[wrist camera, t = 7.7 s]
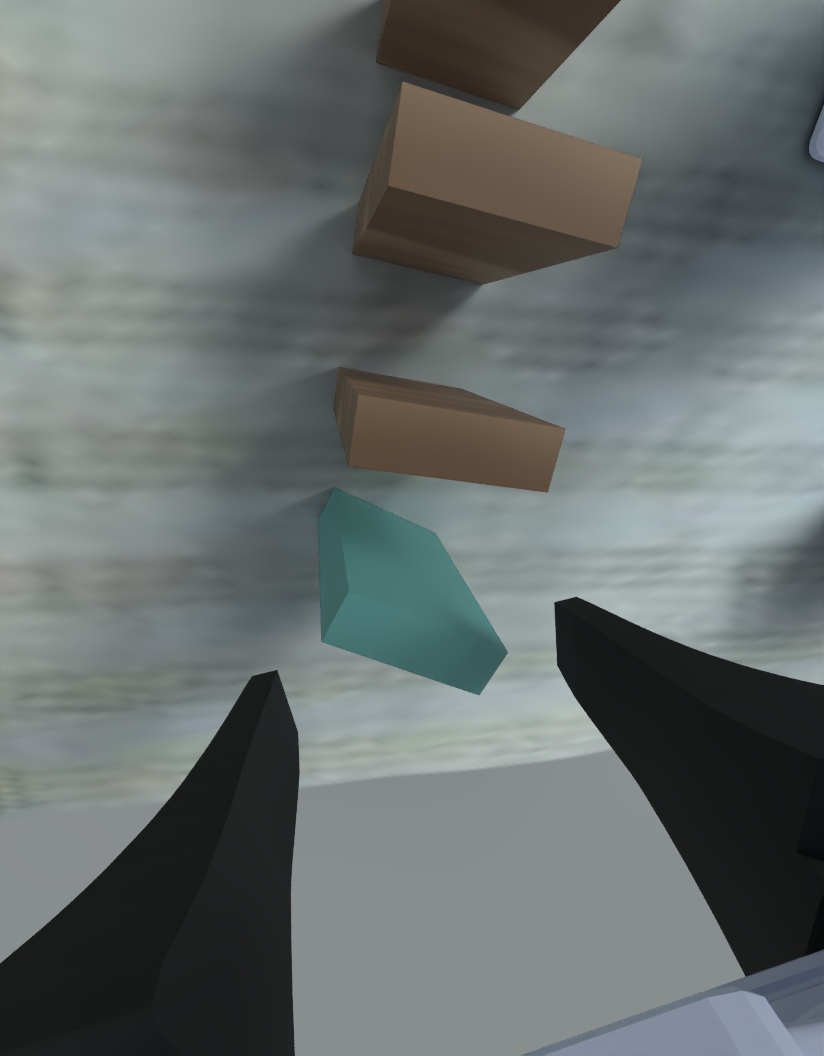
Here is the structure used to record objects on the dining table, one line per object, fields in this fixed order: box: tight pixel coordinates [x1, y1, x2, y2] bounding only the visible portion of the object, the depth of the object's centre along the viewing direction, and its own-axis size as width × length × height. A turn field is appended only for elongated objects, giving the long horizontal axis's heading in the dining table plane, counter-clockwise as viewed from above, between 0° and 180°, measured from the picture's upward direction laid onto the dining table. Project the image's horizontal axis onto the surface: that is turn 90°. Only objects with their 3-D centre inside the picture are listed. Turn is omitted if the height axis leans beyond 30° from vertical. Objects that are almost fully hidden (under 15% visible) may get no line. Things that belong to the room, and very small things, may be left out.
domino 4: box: [353, 82, 643, 284], centre depth 14 cm, size 2×5×9 cm, turn 80°
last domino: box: [318, 487, 508, 695], centre depth 17 cm, size 2×5×9 cm, turn 61°
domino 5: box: [334, 367, 565, 492], centre depth 16 cm, size 2×5×9 cm, turn 80°
